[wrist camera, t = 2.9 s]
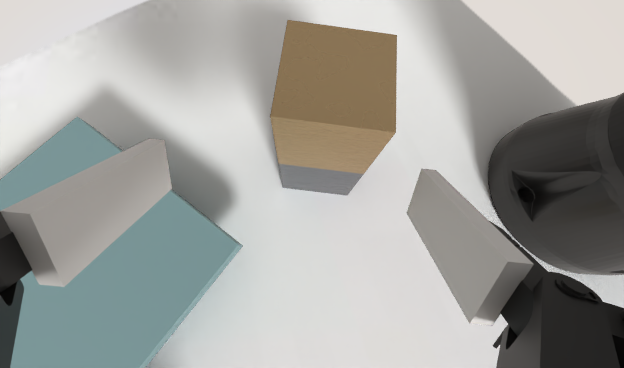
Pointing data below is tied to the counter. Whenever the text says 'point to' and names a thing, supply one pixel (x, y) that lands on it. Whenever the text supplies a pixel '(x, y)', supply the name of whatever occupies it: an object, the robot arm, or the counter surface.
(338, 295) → the counter surface
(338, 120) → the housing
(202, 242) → the teal stand
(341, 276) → the counter surface
